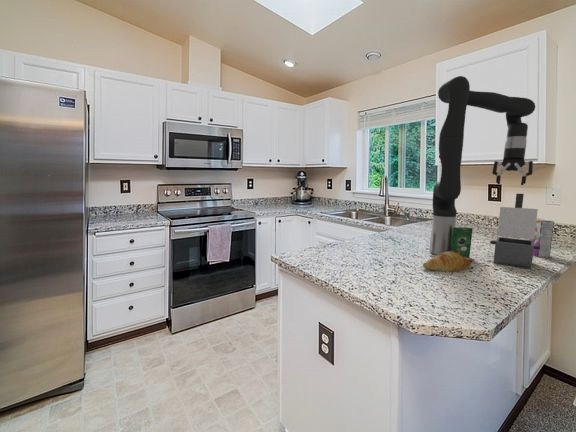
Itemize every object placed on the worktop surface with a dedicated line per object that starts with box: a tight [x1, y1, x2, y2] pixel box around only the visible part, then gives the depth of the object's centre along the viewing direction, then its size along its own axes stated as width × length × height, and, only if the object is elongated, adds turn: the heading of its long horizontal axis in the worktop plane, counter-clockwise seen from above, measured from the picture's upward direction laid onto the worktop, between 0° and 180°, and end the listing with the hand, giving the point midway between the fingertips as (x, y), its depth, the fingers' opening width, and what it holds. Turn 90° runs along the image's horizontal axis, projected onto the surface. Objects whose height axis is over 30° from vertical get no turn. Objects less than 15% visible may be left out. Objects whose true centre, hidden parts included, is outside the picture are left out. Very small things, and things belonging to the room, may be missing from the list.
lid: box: [496, 193, 539, 240], centre depth 126 cm, size 12×18×1 cm
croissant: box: [422, 251, 473, 273], centre depth 114 cm, size 21×10×8 cm
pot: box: [489, 236, 540, 270], centre depth 122 cm, size 16×12×9 cm
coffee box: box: [451, 226, 474, 258], centre depth 130 cm, size 8×3×13 cm, turn 103°
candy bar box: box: [524, 216, 555, 258], centre depth 136 cm, size 11×5×16 cm, turn 168°
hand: (510, 184), depth 135 cm, fingers open, 8 cm apart
